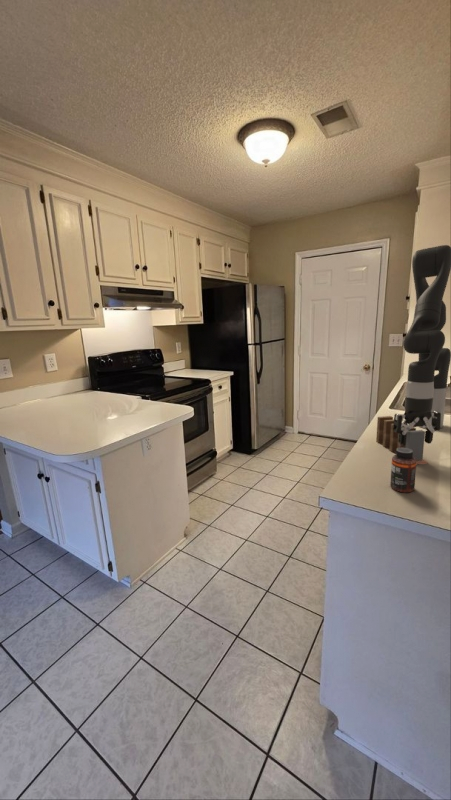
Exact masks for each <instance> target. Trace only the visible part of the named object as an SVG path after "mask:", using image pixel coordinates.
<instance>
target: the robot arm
mask: <svg viewBox="0 0 451 800" xmlns="http://www.w3.org/2000/svg"><path fill="white" fill-rule="evenodd" d="M411 261H412V262H411V264H412V265H411V266H412V275H413V282H414V289H415V300H416V303H415V306H414V307H415V308H414V315H413V320H412V323H411V325H410V326H409V330H408V331H407V333H406V335H405V337H404V339H403V349H404V351H405V353H408V354H411V355H412V354H413V355H415V354H417V355H418V360H417V361H416V360H415V361H412V362H410V363H409V365H408V369H407V372H408V373H407V382H406V386H405V397H404V413H402V414H400V413H395V414H394V417H393V420H394V423H393V431H395V432H396V433H399V437H398V442H399V443H400V444H401V445H402V446H405V445H406V435H405V434H406V433H407V432H408V430H410V429H411V428H412V427H414V428H417V427H419V428H423V429H425V430H424V431H425V438H424V443H425V444H428V445H429V444H432V442H433V440H434V439H433V438H434V433H435V432H436V431H440V430H441V429H443V426H444V420H445V410H446V397H447V387H448V379H449V378H448V377H449V371H450V365H451V349H450V348H447V347H444V345H445V343H446V335H445V334H444V332H443V331H442V330H443V328H444V327H445V325H446V323H447V306H446V304H445V302H444V300H443V299H444V294H445V291H446V288H447V286H448V281H449V277H450V273H451V246H450V245H449V244H442V245H437V246H432V247H427V248H423V249H422V248H421V249H419V250H416V251H415V252H414V253H413V255H412V260H411ZM433 277H435V279H434V280H433V281H432V282H431V284H430V285H429V283H428V281H427V278H433ZM435 372H438V373H437V374H436V375H435ZM407 424H408V425H407ZM401 425H402V426H401Z"/></svg>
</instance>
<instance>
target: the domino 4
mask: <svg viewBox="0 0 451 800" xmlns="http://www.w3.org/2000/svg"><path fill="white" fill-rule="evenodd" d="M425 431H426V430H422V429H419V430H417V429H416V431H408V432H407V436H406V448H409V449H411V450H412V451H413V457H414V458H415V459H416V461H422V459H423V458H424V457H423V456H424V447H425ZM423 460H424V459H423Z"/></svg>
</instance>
